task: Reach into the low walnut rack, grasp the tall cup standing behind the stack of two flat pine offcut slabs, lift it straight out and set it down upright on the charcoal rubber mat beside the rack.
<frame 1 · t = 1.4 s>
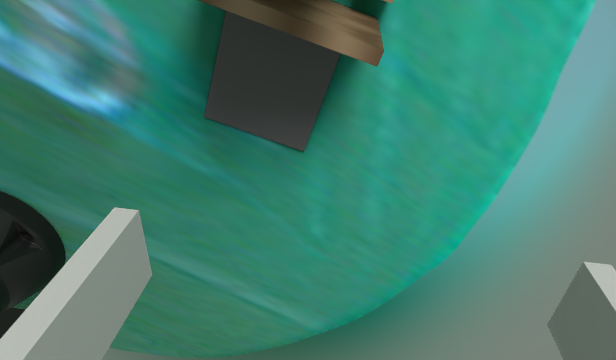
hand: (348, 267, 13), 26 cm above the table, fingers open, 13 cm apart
mat: (270, 80, 36), on the table
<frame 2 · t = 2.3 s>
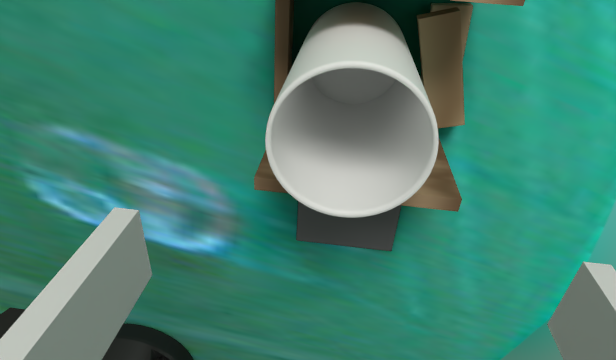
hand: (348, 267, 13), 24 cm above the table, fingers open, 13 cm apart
offcut slab upper: (440, 68, 32), point 1 cm above the table
cup: (353, 56, 33), resting in rack
mat: (349, 200, 40), on the table
rack: (366, 58, 33), on the table
offcut slab lower: (439, 62, 33), on the table
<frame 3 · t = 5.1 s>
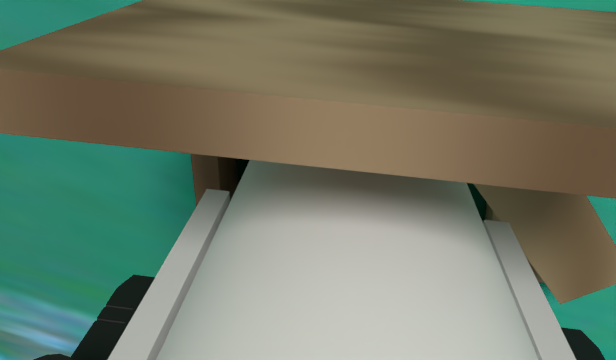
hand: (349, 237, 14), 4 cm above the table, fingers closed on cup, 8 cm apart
offcut slab upper: (535, 197, 16), point 1 cm above the table, touching offcut slab lower
cup: (351, 169, 18), resting in rack, touching gripper
rack: (375, 174, 17), on the table
when the fingers open (6 cm above the table, at t = 11.4 s): cup drops 1 cm, resting on mat.
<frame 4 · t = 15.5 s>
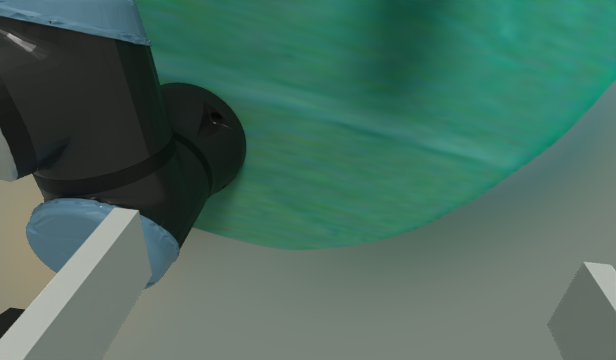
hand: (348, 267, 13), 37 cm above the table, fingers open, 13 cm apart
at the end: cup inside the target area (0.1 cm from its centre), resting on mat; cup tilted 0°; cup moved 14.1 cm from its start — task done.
